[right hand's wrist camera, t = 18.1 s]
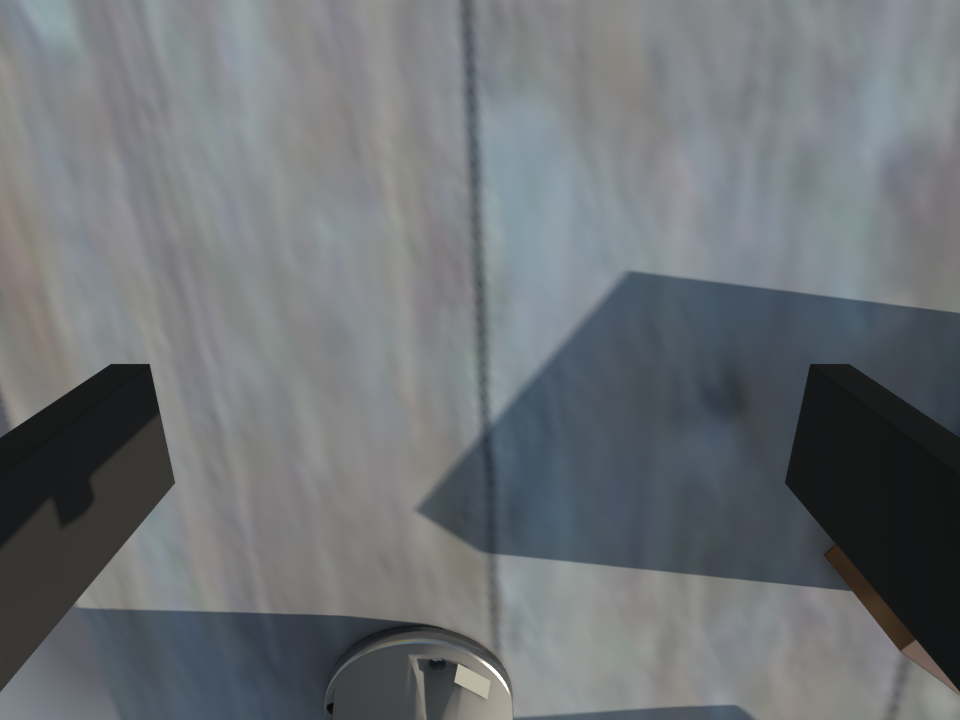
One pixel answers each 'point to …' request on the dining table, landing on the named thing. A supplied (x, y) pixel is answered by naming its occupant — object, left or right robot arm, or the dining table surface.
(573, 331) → the dining table surface
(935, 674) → the box
